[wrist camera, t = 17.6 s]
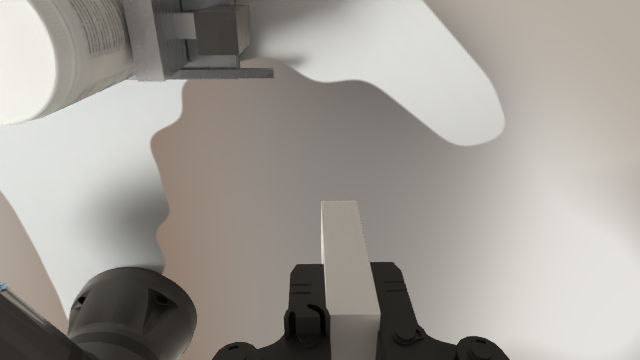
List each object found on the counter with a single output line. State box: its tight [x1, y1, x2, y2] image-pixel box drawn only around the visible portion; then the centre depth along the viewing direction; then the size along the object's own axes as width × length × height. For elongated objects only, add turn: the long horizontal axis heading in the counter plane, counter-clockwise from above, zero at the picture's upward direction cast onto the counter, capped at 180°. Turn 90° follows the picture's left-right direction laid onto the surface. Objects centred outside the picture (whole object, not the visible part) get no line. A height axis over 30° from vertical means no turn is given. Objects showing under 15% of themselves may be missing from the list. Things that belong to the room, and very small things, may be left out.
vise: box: [126, 0, 275, 80], centre depth 35 cm, size 10×24×9 cm, turn 90°
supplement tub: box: [0, 0, 137, 125], centre depth 30 cm, size 10×10×15 cm
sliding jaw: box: [122, 0, 251, 81], centre depth 33 cm, size 7×8×8 cm
